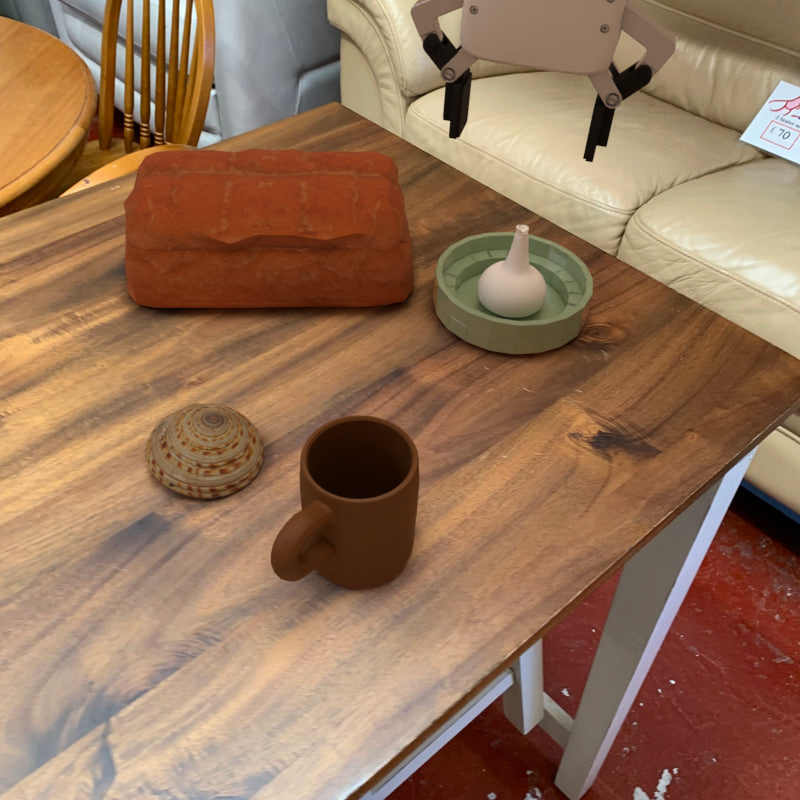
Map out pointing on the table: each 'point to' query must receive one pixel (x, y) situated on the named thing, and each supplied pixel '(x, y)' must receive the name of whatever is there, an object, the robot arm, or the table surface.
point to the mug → (352, 505)
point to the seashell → (205, 451)
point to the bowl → (509, 334)
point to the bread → (267, 230)
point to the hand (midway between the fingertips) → (523, 141)
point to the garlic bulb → (513, 282)
